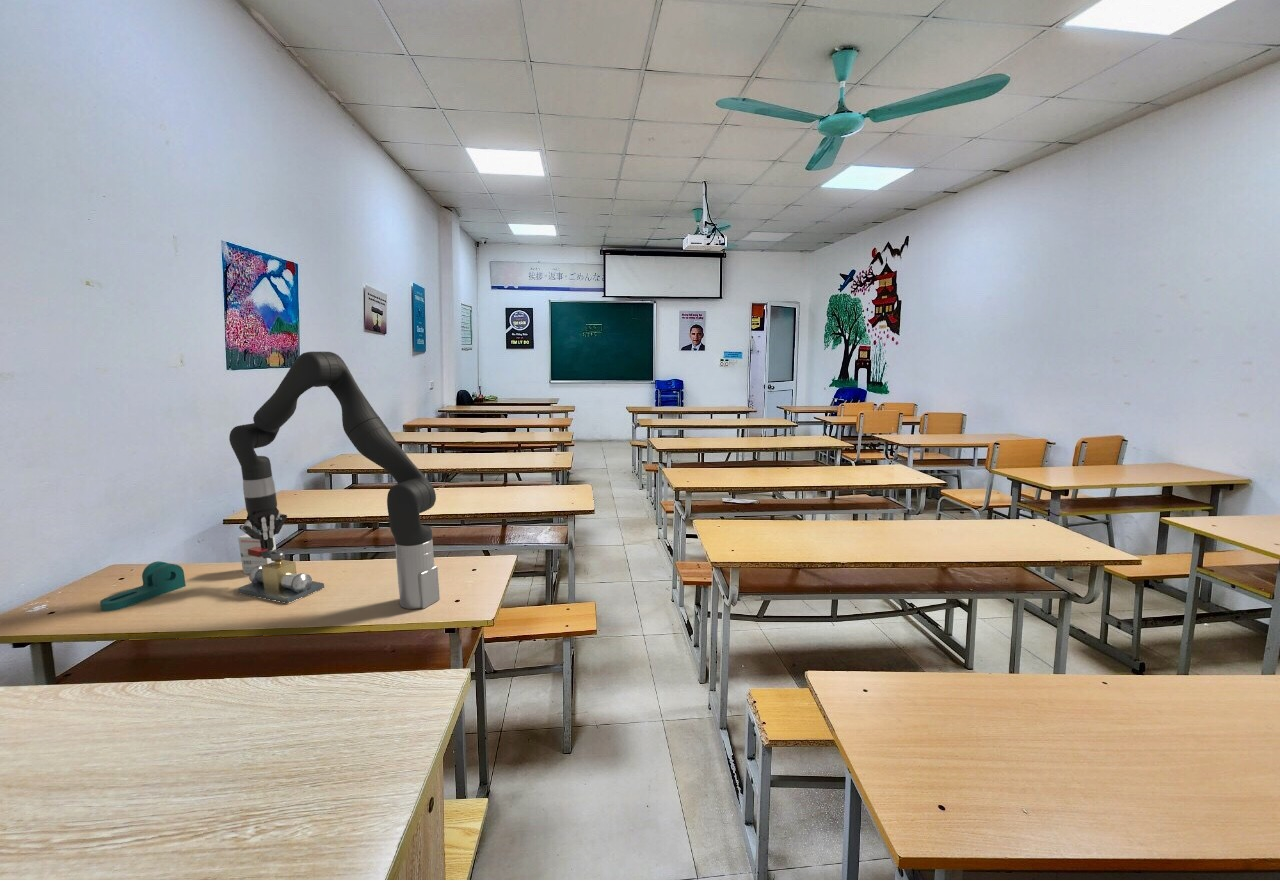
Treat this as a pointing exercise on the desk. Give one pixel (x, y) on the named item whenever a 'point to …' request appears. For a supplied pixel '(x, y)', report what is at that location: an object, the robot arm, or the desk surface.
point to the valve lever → (266, 553)
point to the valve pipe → (279, 582)
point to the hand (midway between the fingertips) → (268, 550)
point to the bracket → (148, 586)
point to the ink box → (248, 560)
